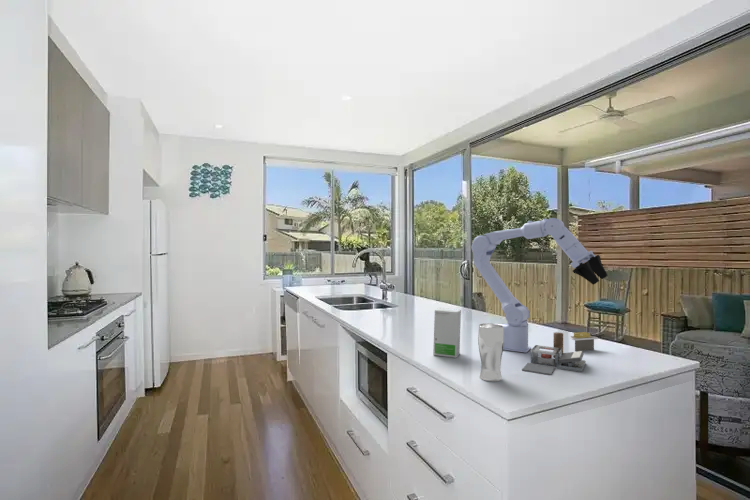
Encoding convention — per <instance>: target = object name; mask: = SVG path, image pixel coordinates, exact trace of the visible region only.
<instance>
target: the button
mask: <svg viewBox="0 0 750 500" xmlns="http://www.w3.org/2000/svg"><path fill="white" fill-rule="evenodd" d="M540 357H542V358H546V359H550V358H552V359H553V355H549V354H541V353H540Z"/></svg>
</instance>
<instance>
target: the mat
mask: <svg viewBox="0 0 750 500" xmlns="http://www.w3.org/2000/svg"><path fill="white" fill-rule="evenodd" d="M555 369H556V366H550V365H543V364H536V363H531V362H527V363H526V364H525V366H524V367H523V368H522V369H521V370H522V372H523V371H524V372H528V373H529V372H530V373H535V374H542V375H549V376H552V374H553V373H554V371H555Z"/></svg>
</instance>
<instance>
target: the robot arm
mask: <svg viewBox="0 0 750 500" xmlns="http://www.w3.org/2000/svg"><path fill="white" fill-rule="evenodd" d="M548 235H549V236H551V238H553V240H554V241H555V242H556V244H557V245H558V247H560V249H561V250H562V251H563V252H564V253H565V254H566V256H567V258H569V259H570V261H572V262H571V263H570V266H571V267H572V268H573V270H572V273H573V274H575V275H578V276H581V278H583V279H585V280H586V281H587V282H589V283H590V284H591V285H593V286H594V285H596V284H597V283H599V282H600V280H599V279H601V280H603V279H604V278H606V277H608V273H607V271H606V269H605V267H604V265H603V264H602V260H601V256H600V255H599V254H596V255H595V254H594V253H593V252H594V251H593V250H590V251H588V250H587V248H585V247H584V245H583V244H582V243H581V242H580V240H578V238H577V237H576V236H575V234H573V233H572V232H571V231H569V229H568V228H567V227H566V226H565V223H564V221H562V220H561V219H559V218H556V217H551V218H543V219H542V220H537V221H533V220H528V221H527V222H526V223H524V224H523V225H522V226H521V227H518V228H509V229H503V230H496V231H491V232H488V233H487V232H486V233H484V234H483V235H477V236H476V237H474V239H473V241H472V243H471V247H470V249H471V251H472V255H473V257H472V258H473V264H474V266H475V268H476V270H477V271H478V272H479V273H480V275H481V277H482V278H483V280H484V281H485V282H486V284H487V285H488V287H489V288H490V289H491V291H492V292H493V294H494V295H495V297H496V298H497V299H498V301H499V302H500V304H501V308H502V309H501V310H502V311H503V313H504V317H505V320H506V323H502V324H501V325H502V326H503V334H504V347H503V351H511V352H519V353H525V354H526V353H528V352H529V351H531V350H532V346H529V323H528V320H529V318H530V316H531V315H530V310H529V308H528V307H527V306H526V305H523V304H522V303H521V301H520V300H518V298H516V297H514V295H513V293H512V292H511V291H510V288H508V287H507V285H506V284H505V282H504V281H503V279H502V278H501V277H500V275H499V274H498V272H497V271H496V269H495V268H494V267H493V265H492V264H491V263H490V260H491V258H492V255H493V253H494V251H495V249H496V247H497V245H500V244H501V243H502V242H503V241H505V240H508V239H509V240H511V239H515V238H521V237H524V238H525V239H527V240H530V239H531V240H532V239H538V238H544V237H547V236H548Z"/></svg>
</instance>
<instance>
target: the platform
mask: <svg viewBox="0 0 750 500" xmlns="http://www.w3.org/2000/svg"><path fill="white" fill-rule="evenodd" d="M569 338H570V339H571V340H573V341H574V352H579V351H583V352H584V351H594V350H595V340H598V339H599V338H598V336H594V335H591V332H587V331H584V332H583V331H582V332H579V331H578V332H573V336H572V335H570V336H569Z"/></svg>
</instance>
